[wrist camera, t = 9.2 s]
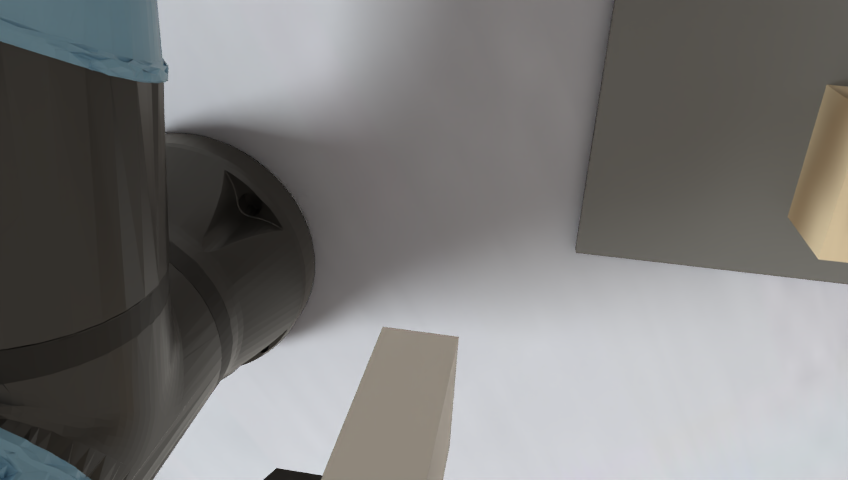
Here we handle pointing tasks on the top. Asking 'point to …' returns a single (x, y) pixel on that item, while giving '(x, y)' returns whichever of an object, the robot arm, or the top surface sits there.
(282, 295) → the robot arm
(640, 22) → the mat
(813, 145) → the flip block
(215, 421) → the top surface
